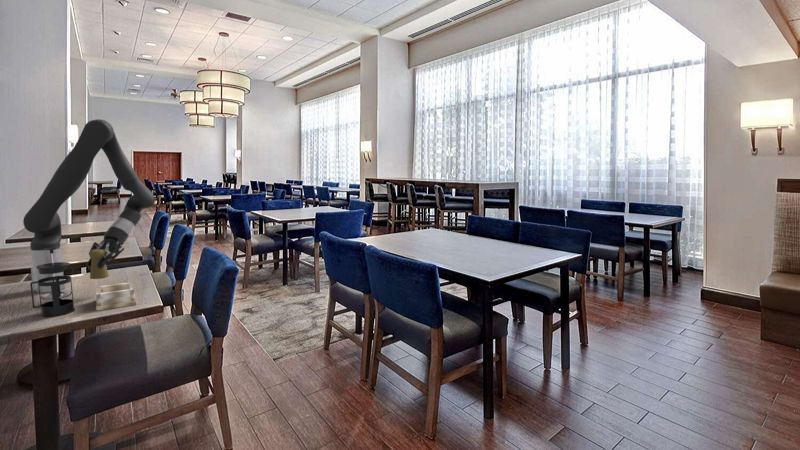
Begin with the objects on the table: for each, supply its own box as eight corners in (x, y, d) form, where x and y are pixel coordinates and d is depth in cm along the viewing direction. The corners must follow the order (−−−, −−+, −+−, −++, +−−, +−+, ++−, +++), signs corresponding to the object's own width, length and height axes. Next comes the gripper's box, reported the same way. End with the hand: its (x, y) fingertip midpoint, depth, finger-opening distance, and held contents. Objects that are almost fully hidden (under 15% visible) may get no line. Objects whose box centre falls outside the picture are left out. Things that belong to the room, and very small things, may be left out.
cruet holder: (96, 310, 149) (94, 295, 148) (97, 300, 160) (95, 286, 160) (136, 304, 156) (134, 290, 155) (134, 294, 167) (133, 281, 166)
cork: (99, 279, 162) (96, 251, 160) (85, 278, 163) (83, 250, 161) (112, 275, 168) (110, 248, 166) (99, 274, 169) (97, 247, 167)
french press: (77, 305, 154) (71, 243, 151) (77, 313, 147) (70, 248, 143) (35, 312, 147) (28, 247, 144) (32, 320, 140) (24, 252, 136)
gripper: (99, 224, 171) (72, 260, 162) (127, 226, 168) (101, 263, 158) (112, 235, 177) (86, 270, 167) (139, 237, 173) (115, 273, 164)
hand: (93, 266), depth 163 cm, fingers closed on cork, 4 cm apart
